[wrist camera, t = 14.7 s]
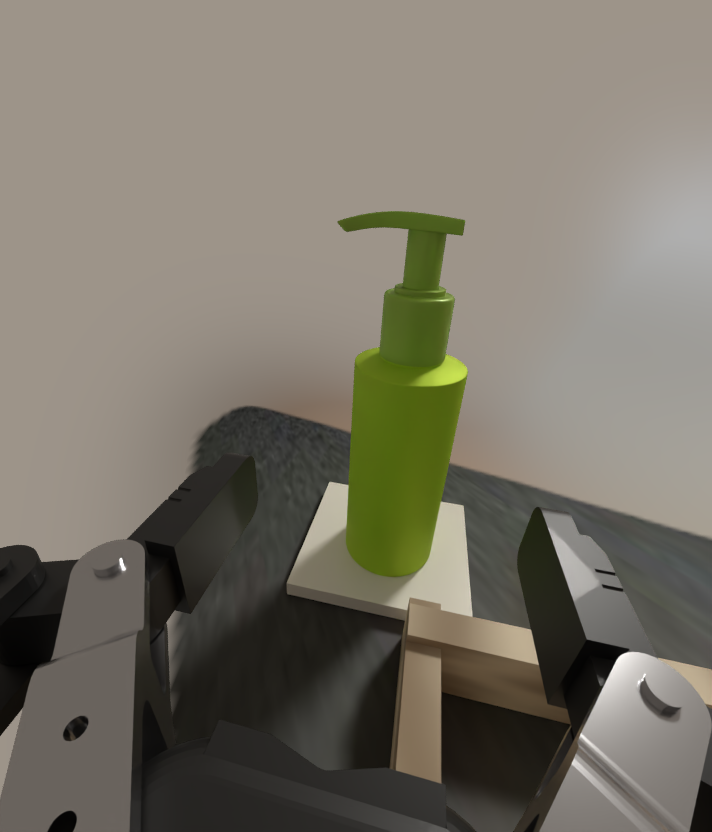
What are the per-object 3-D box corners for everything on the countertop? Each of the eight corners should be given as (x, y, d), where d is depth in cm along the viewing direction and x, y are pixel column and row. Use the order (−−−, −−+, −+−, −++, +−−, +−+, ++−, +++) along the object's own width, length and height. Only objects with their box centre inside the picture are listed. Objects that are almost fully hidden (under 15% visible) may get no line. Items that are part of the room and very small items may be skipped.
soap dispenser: (333, 508, 28) (342, 208, 19) (424, 513, 28) (478, 216, 19) (327, 574, 23) (334, 206, 14) (437, 579, 23) (522, 217, 14)
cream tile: (461, 515, 30) (463, 505, 29) (469, 635, 21) (472, 624, 21) (329, 491, 31) (329, 481, 31) (287, 593, 23) (286, 583, 22)
